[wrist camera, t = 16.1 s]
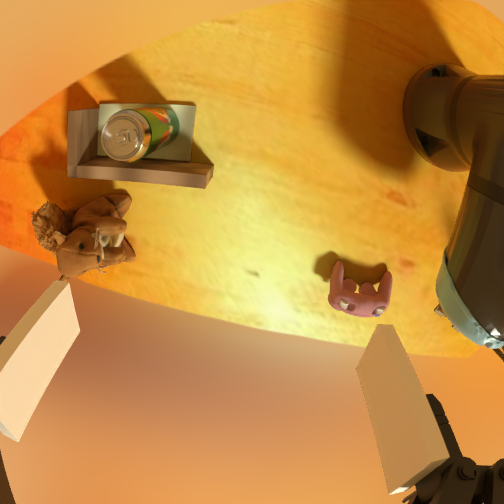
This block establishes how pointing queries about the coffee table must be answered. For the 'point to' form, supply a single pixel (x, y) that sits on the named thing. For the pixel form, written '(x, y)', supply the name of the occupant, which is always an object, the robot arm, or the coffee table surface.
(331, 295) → the video game controller
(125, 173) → the brown wooden angled piece
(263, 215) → the coffee table surface
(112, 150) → the soda can
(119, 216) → the stuffed squirrel
